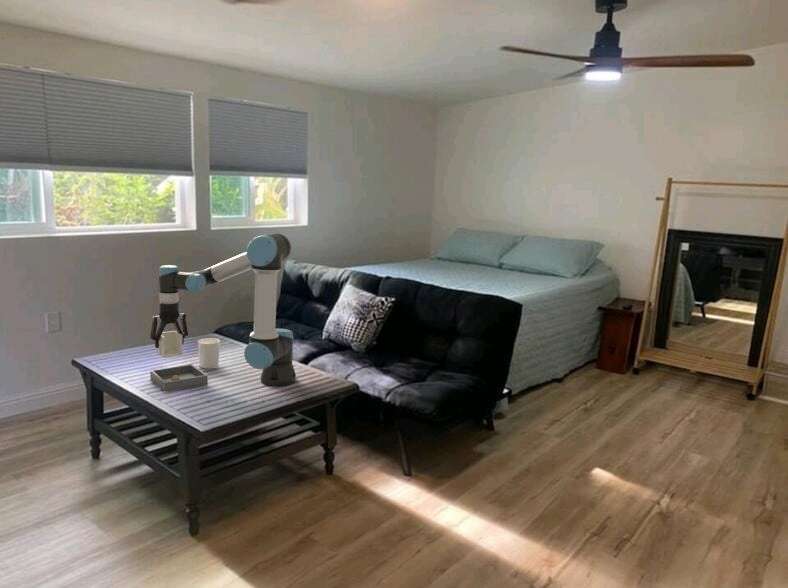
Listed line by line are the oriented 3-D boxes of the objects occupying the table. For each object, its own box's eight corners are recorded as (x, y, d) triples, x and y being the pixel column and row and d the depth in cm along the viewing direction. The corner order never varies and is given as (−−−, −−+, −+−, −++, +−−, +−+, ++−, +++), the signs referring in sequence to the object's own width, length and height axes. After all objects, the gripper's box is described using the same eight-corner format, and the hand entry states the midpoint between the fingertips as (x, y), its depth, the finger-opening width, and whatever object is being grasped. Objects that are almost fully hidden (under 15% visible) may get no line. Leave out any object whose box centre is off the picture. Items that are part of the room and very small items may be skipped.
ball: (182, 379, 235) (177, 383, 232) (176, 380, 236) (172, 384, 233) (178, 373, 234) (174, 376, 231) (173, 374, 235) (168, 378, 232)
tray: (207, 384, 236) (207, 375, 235) (165, 392, 224) (164, 382, 224) (191, 372, 249) (191, 364, 248) (150, 379, 237) (150, 370, 237)
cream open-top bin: (182, 355, 242) (182, 334, 240) (163, 357, 236) (163, 337, 235) (175, 350, 247) (175, 330, 246) (156, 353, 242) (156, 332, 240)
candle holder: (193, 367, 256) (193, 342, 253) (205, 361, 265) (205, 336, 263) (212, 370, 253) (212, 344, 251) (224, 364, 263) (224, 339, 261)
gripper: (189, 298, 247) (189, 347, 252) (140, 302, 233) (141, 354, 238) (196, 301, 242) (196, 352, 246) (146, 305, 228) (147, 359, 232)
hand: (169, 353), depth 242 cm, fingers closed on cream open-top bin, 8 cm apart
